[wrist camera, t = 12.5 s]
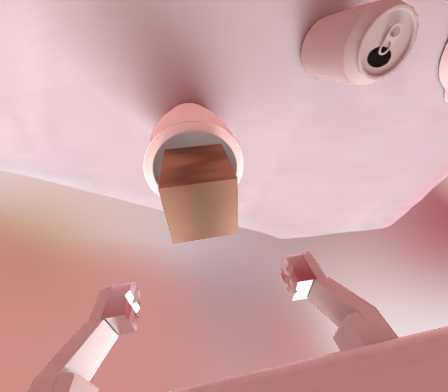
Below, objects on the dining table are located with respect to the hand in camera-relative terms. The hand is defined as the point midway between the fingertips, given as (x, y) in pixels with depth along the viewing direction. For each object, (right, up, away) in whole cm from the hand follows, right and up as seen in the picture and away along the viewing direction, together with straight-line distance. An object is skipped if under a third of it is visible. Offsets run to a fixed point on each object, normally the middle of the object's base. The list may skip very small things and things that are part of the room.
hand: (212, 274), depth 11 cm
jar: (-5, +15, +22) cm, 28 cm away
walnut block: (-2, +7, +10) cm, 12 cm away
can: (+15, +26, +19) cm, 36 cm away
